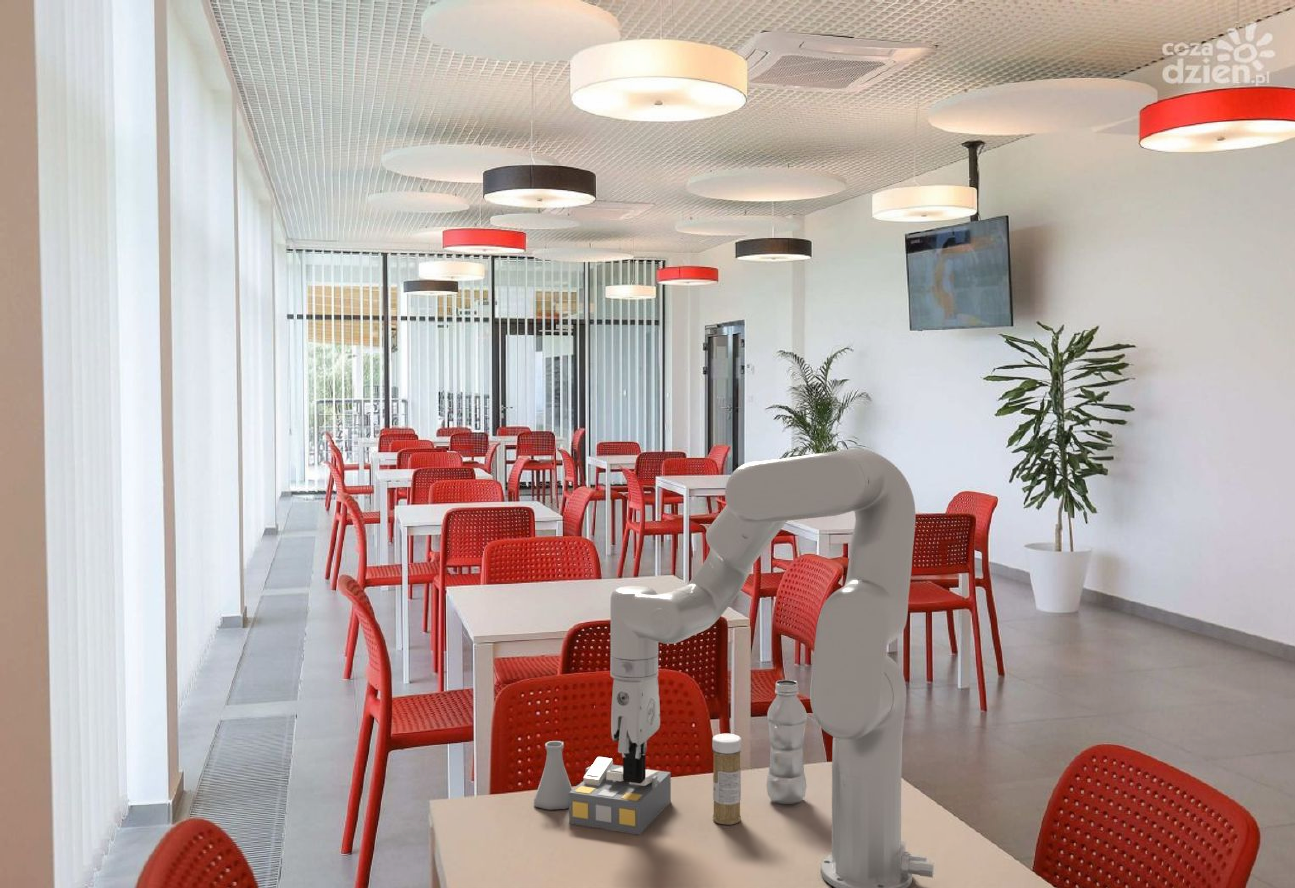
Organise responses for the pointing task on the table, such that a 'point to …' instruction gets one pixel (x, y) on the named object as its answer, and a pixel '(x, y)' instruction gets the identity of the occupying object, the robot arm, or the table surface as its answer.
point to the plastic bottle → (786, 745)
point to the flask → (553, 780)
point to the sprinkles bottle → (726, 778)
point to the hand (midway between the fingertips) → (634, 780)
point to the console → (619, 803)
